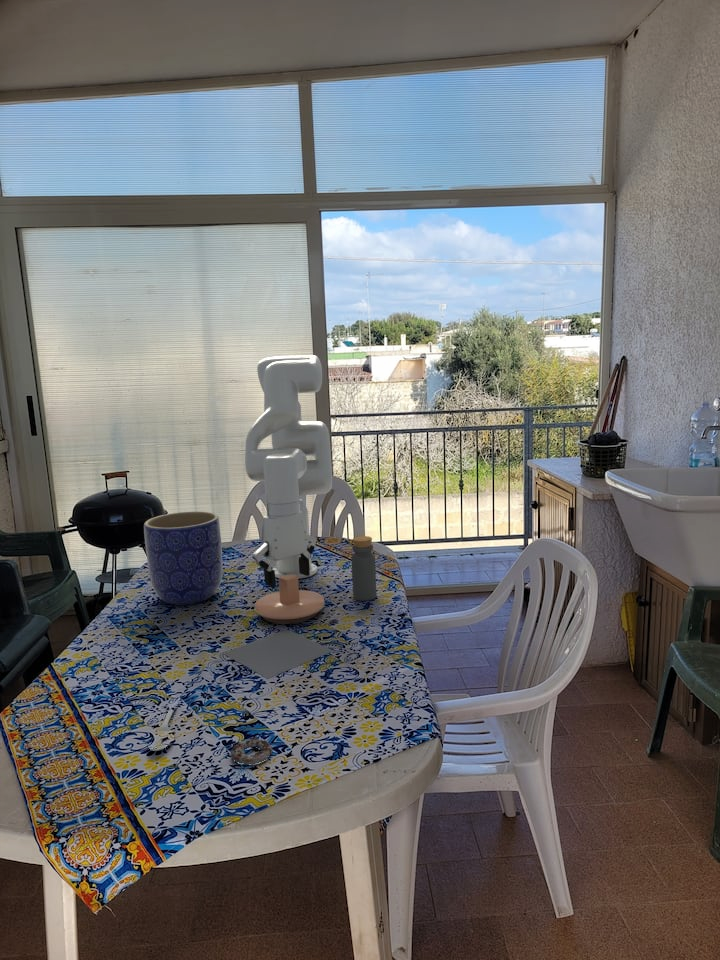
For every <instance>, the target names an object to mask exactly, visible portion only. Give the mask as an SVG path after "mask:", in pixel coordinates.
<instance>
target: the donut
mask: <svg viewBox="0 0 720 960" xmlns="http://www.w3.org/2000/svg"><path fill="white" fill-rule="evenodd" d="M249 747H251V748H253V747H258V748H260V749H261V751H258V752H256V753H254V755H252V754H247V753H246V752H245V751H244V750H245V749H247V748H249ZM231 748H232V749H231V751H230V758H231V757H232V759H233V760H235V761H237V762H239V763H244V764H255V763H259V762H262V761H264V760H266V759H267V758H268V756H269V755H270V754H271V755H272V753H273V746H272V745H271V744H270V743H269V742H268V741H267V740H263V739H262V738H260V739H259V737H258V736H253V737H250V739H245V740H242V741H240V742H237V744H236V745H234V746H232V747H231ZM271 752H272V753H271ZM232 759H231V760H232ZM233 760H232V761H233Z"/></svg>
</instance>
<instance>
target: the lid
mask: <svg viewBox="0 0 720 960" xmlns="http://www.w3.org/2000/svg"><path fill="white" fill-rule="evenodd" d="M299 588H300V587H299V579H298V577H297V576H294V575H291V574H288V575H285V576H282V577H279V578H278V591H275V592H272V593H269V594H266V595H264V596H262V597H260V598H258V599H257V600H256V602H255V603H254V608H255V609H254V610H255V613H256V614H258V615H259V616H260V617H262V616H263V617H266V618H271V619H296V618H302V617H306V616H309V615H312V614H315V613H317V612H318V611H319V612H320V611H322V609H324V607H325V597H324V596H323V595H322V594H320V593H318V592H315V591H311V590H304V589H299ZM319 612H318V613H319ZM318 613H317V614H318ZM263 617H262V618H263Z"/></svg>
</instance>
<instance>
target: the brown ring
mask: <svg viewBox="0 0 720 960" xmlns="http://www.w3.org/2000/svg"><path fill="white" fill-rule="evenodd" d="M319 612H320V611H318V612H317V613H315V614H312V615H309V616H306V617H302V618H296V619H271V618H266V617H263V616H261V617H262V618H263V619H264V620H265V621H267V622H269V623H273V624H279V625H290V624H298V623H302V622H306V621H309V620H311V619H312V618H314V617H315V616H316V615H317V614H318V613H319Z"/></svg>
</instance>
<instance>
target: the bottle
mask: <svg viewBox="0 0 720 960" xmlns="http://www.w3.org/2000/svg"><path fill="white" fill-rule="evenodd" d="M372 540H373V538H372V536H367V535H359V536H355V537H353V538H352V542H353V545H352V548H351V549H352V551H353V552H354V553H353V554H352V555H351V556H350V557H351V562H350V563H351V577H352V580H351V581H352V595H353V596H352V597H353V599H354V600H357V601H362V602H367V601H372V600H375V599H376V598H377V596H378V595H377V575H376V574H377V570H376V569H377V568H376V556H375V553H373V552H372V551H373V550H374V545H373V543H372Z"/></svg>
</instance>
